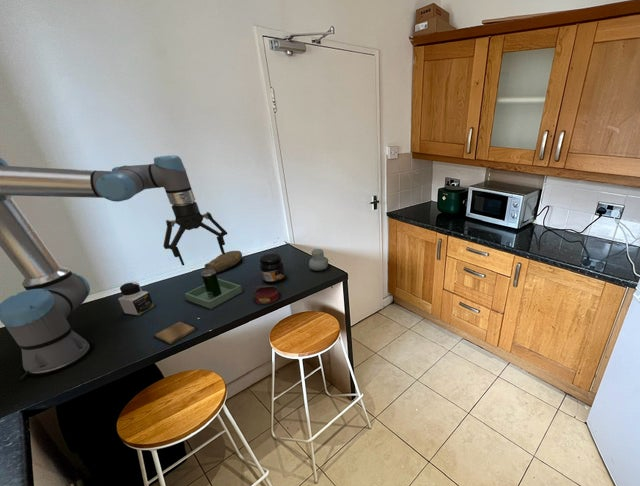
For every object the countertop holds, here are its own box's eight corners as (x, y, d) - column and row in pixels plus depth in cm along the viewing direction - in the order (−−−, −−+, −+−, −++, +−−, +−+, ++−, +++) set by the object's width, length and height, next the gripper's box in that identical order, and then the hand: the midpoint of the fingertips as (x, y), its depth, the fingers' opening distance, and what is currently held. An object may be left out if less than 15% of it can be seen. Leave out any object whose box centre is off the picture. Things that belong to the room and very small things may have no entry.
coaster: (170, 344, 110) (169, 341, 109) (155, 336, 113) (154, 334, 113) (195, 329, 117) (194, 327, 117) (180, 323, 121) (179, 321, 120)
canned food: (256, 309, 137) (243, 291, 135) (274, 297, 145) (262, 279, 142) (269, 306, 130) (256, 286, 128) (287, 293, 138) (274, 274, 135)
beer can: (218, 298, 136) (211, 274, 131) (205, 298, 136) (198, 274, 131) (224, 292, 141) (217, 268, 136) (212, 292, 141) (204, 268, 136)
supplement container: (267, 286, 146) (262, 263, 141) (260, 278, 153) (255, 256, 148) (289, 280, 152) (285, 257, 147) (281, 272, 159) (277, 250, 154)
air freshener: (325, 273, 159) (322, 255, 154) (308, 273, 159) (306, 255, 154) (329, 264, 169) (327, 246, 164) (314, 263, 169) (312, 246, 164)
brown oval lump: (217, 278, 156) (251, 257, 169) (208, 265, 152) (244, 245, 165) (206, 275, 164) (239, 255, 177) (198, 263, 160) (232, 243, 173)
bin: (210, 309, 130) (208, 302, 128) (187, 300, 136) (184, 293, 134) (242, 291, 142) (240, 285, 141) (219, 284, 148) (217, 278, 147)
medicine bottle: (138, 315, 125) (127, 289, 120) (124, 313, 126) (112, 287, 121) (154, 306, 131) (144, 281, 126) (140, 304, 133) (130, 279, 127)
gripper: (139, 213, 98) (165, 272, 108) (225, 198, 112) (241, 251, 122) (138, 208, 104) (163, 265, 113) (220, 194, 117) (236, 246, 127)
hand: (203, 258), depth 118 cm, fingers open, 13 cm apart
